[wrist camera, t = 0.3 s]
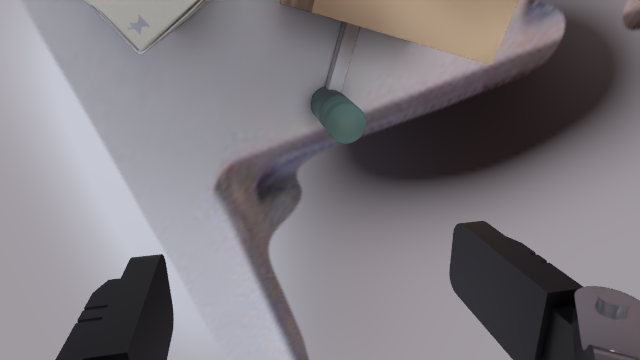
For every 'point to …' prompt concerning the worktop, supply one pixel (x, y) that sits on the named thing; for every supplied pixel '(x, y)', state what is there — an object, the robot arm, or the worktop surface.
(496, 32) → the oak cubby
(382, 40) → the worktop surface
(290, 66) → the worktop surface
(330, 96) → the mallet
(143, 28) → the skincare box
